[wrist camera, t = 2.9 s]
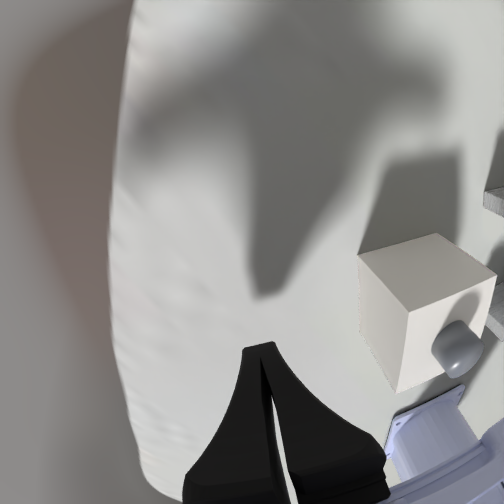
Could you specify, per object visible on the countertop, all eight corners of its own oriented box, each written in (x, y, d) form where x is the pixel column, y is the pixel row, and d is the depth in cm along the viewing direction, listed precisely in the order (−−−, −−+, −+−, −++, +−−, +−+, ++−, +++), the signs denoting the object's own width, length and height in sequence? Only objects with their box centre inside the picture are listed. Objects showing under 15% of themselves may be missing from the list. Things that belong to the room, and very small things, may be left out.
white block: (429, 306, 16) (489, 374, 10) (358, 331, 16) (408, 417, 10) (435, 232, 14) (518, 291, 8) (356, 254, 14) (429, 337, 8)
